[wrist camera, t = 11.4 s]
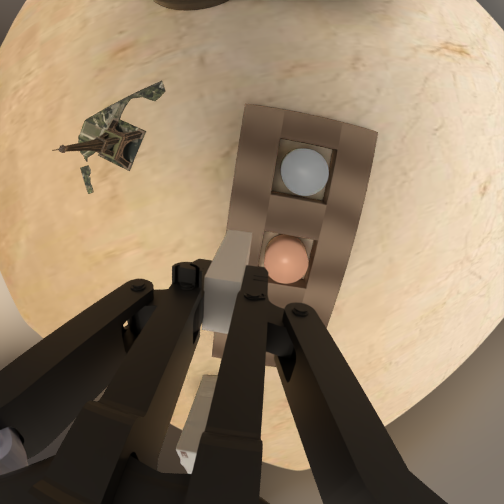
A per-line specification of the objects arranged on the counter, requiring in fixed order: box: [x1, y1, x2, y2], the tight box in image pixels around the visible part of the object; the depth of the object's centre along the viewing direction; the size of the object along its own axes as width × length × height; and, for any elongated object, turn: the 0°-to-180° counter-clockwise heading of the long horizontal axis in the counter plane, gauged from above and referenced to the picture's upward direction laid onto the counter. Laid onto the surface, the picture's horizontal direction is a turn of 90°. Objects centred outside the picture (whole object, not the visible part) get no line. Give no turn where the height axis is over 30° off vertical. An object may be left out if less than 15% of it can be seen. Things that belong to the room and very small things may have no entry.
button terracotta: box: [264, 234, 308, 284], centre depth 32 cm, size 5×5×3 cm
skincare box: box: [176, 375, 218, 474], centre depth 36 cm, size 8×7×16 cm
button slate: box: [280, 148, 329, 196], centre depth 29 cm, size 5×5×3 cm
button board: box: [212, 104, 378, 367], centre depth 33 cm, size 32×14×2 cm, turn 171°
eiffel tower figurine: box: [52, 81, 165, 194], centre depth 24 cm, size 15×10×13 cm
